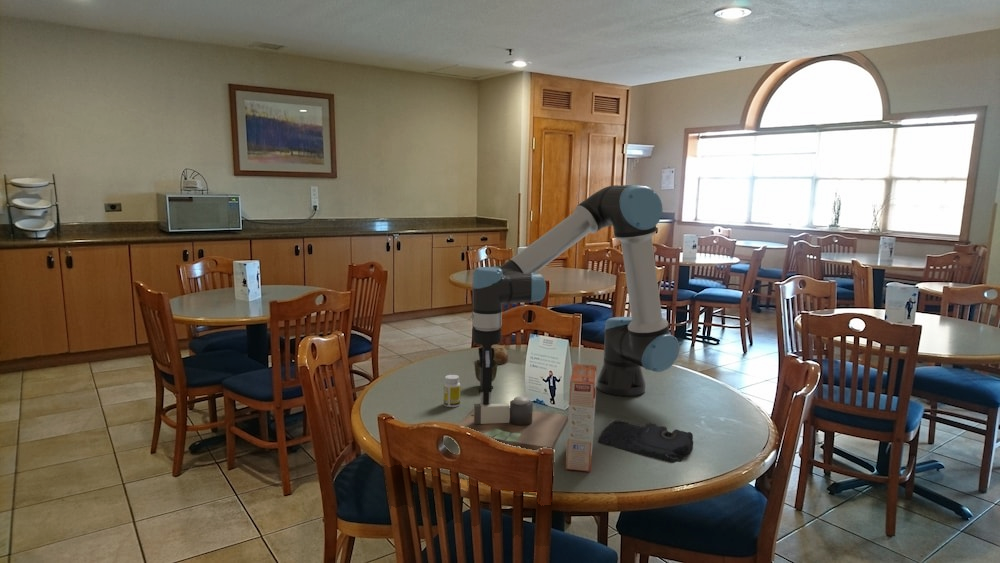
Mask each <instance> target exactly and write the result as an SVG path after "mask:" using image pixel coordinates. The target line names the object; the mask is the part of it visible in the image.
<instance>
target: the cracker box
mask: <svg viewBox="0 0 1000 563" xmlns="http://www.w3.org/2000/svg"><path fill="white" fill-rule="evenodd" d="M596 397H597V365H594V364H579V363H574V364H573V365H572V370H571V375H570V380H569V396H568V409H567V410H568V412H567V415H568V421H567V428H566V429H567V431H566V432H567V433H566V452H565V470H570V471H571V470H572V471H578V472H587V473H588V472H589V473H590V472H591V467H592V455H593V454H592V453H593V445H594V443H593V442H594V430H595V428H594V427H595V415H596V399H597V398H596Z"/></svg>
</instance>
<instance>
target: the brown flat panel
mask: <svg viewBox="0 0 1000 563" xmlns="http://www.w3.org/2000/svg"><path fill="white" fill-rule="evenodd" d="M458 424H459V425H461V426H465V427H469V428H471V429H474V430H476V431H479V432H481V433H483V434H485V435H487V436H489V437H491V438H493V439H495V440H497V441H499V442H502V443H505V444H509V445H513V446H520V447H525V448H524V449H526V448H529V449H528V450H532V449H539V448H543V447H547V448H553V449H554V448H555V447H556V444H557V442H558V441H559V438H560V436H561V434H562V432H563V431H564V428H565V427H566V425H567V424H568V414H567V415H566V414H561V413H560V414H558V413H553V412H552V413H550V412H546V411H545V412H543V411H536V410H533V415H532V423H531V424H528V425H515V424H512V423H511V422H510V409H509V423H490V424H474V408H473V409H472V410H470V412H468V413H467V415H466V416H465V417H464V418H463V419H462V420H461V421H460V422H459V423H458Z"/></svg>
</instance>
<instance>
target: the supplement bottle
mask: <svg viewBox="0 0 1000 563" xmlns="http://www.w3.org/2000/svg"><path fill="white" fill-rule="evenodd" d="M460 405H461V383H460V376H459V375H457V374H448V375H445V377H444V383H443V406H445V407H448V408H457V407H459V406H460Z"/></svg>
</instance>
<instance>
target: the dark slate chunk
mask: <svg viewBox="0 0 1000 563" xmlns="http://www.w3.org/2000/svg"><path fill="white" fill-rule="evenodd" d="M693 436H694V435H693V433H692V432H691V431H684V430H679V429H674V430H673V431H672V432H671V431H668V427H666V426H661V425H657V424H656V423H652V422H650V423H646V424H645V425H644V426H642V425H638V424H633V423H629V422H626V421H623V420H619V419H615V420H614V421H612V422H611V423H609V424H608V425H607V426H606V427H605V428H604V429H603V430H602V431H601V434H600V435H599V436H598V440H597V442H598V444H601V445H604V446H608V447H612V448H614V449H619V450H621V451H625V452H629V453H633V454H637V455H641V456H644V457H649V458H651V459H652V458H653V459H657V460H661V461H663V462H668V463H671V464H673V463H676V462H679V463H682V461H683V460H684V458H685V457H687V456H689V455H690V454H691V452H692V450H693V447H694V440H693V439H694V437H693Z"/></svg>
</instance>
